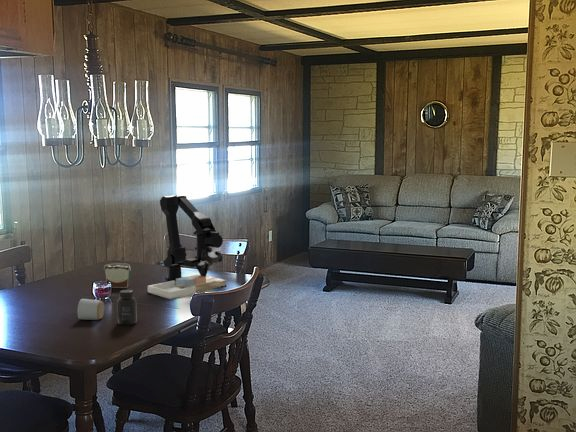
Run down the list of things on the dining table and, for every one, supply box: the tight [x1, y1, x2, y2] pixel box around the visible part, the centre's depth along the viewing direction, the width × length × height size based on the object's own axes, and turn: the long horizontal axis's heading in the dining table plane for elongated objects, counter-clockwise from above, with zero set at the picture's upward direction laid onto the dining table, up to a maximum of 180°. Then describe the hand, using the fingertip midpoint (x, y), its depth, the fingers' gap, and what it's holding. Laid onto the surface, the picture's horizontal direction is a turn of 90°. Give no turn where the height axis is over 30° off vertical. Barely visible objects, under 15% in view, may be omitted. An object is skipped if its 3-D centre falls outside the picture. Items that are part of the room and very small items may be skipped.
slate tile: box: [175, 276, 195, 287], centre depth 284 cm, size 6×6×2 cm
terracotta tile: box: [187, 274, 206, 284], centre depth 289 cm, size 6×6×2 cm
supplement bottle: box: [116, 289, 138, 326], centre depth 235 cm, size 7×7×12 cm
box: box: [147, 280, 197, 300], centre depth 279 cm, size 16×14×3 cm
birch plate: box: [175, 274, 227, 293], centre depth 291 cm, size 14×18×2 cm
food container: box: [103, 262, 132, 289], centre depth 291 cm, size 12×6×10 cm, turn 84°
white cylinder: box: [76, 298, 105, 321], centre depth 242 cm, size 11×8×8 cm
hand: (203, 278), depth 292 cm, fingers closed
